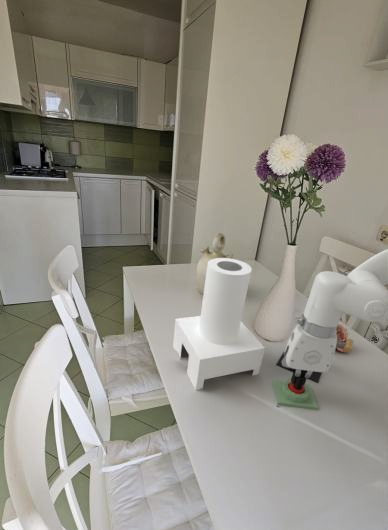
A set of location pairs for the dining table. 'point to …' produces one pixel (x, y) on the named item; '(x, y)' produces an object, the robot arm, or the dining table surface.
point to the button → (296, 389)
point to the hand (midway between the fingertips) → (296, 385)
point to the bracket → (313, 377)
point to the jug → (208, 256)
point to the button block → (293, 395)
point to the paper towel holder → (220, 326)
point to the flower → (341, 336)
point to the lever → (346, 345)
